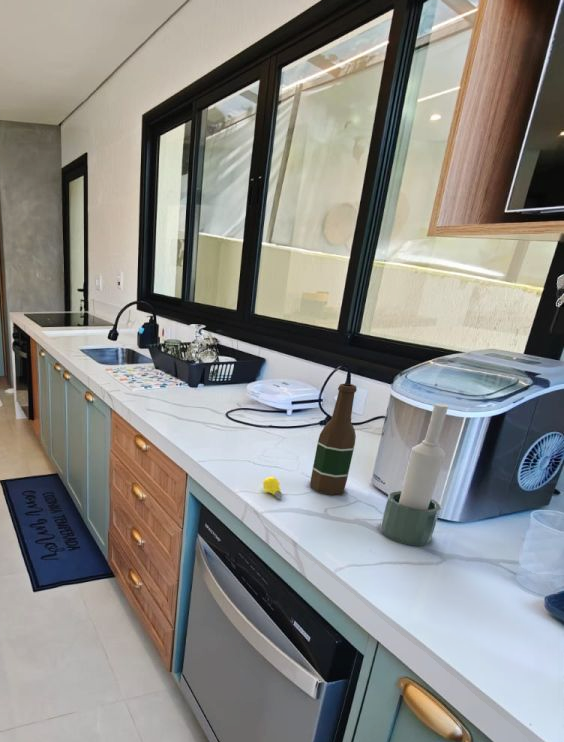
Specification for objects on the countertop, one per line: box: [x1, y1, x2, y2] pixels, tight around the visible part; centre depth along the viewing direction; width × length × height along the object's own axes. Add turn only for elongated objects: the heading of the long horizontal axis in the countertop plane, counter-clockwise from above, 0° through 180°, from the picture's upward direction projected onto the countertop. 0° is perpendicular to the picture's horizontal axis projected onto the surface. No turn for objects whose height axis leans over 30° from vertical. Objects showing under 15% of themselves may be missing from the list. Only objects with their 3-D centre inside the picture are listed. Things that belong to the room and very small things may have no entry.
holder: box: [380, 490, 441, 547], centre depth 95 cm, size 8×8×7 cm
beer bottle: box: [309, 383, 357, 496], centre depth 110 cm, size 8×8×24 cm
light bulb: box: [262, 476, 284, 500], centre depth 110 cm, size 3×6×4 cm, turn 17°
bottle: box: [399, 403, 449, 510], centre depth 91 cm, size 5×5×25 cm
